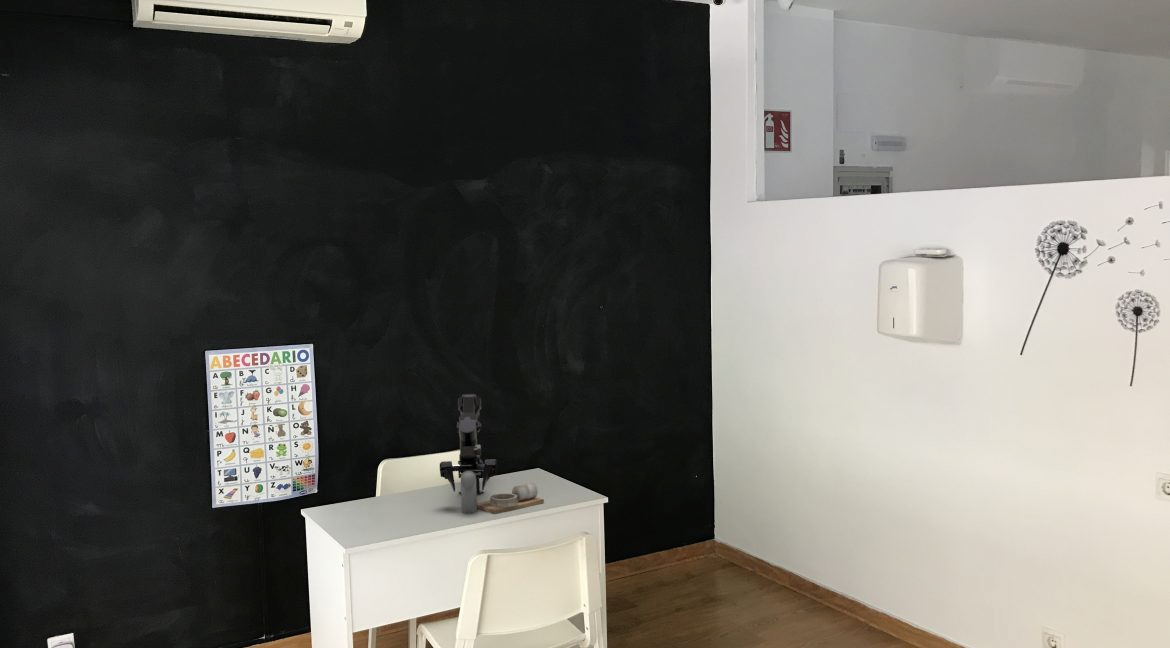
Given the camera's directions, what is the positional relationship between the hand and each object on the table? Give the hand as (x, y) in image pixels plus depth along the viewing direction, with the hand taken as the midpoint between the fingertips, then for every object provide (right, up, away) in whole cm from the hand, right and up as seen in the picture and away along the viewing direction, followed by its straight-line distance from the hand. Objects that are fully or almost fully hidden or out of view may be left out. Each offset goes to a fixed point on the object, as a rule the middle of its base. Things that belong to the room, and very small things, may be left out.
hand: (468, 490), depth 294 cm
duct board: (+12, -7, +8) cm, 16 cm away
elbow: (0, -7, +1) cm, 7 cm away
